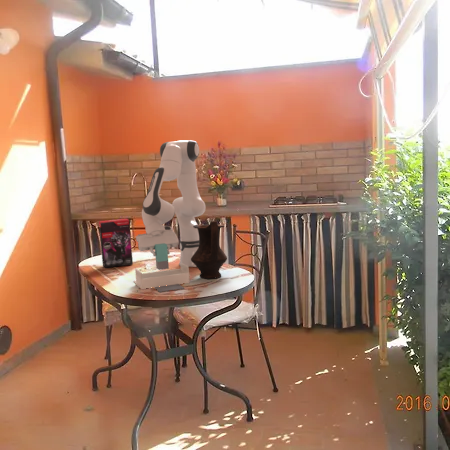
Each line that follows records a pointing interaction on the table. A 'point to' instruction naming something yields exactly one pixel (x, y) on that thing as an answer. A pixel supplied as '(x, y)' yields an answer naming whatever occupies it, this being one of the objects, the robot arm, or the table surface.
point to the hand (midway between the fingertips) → (161, 254)
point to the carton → (162, 277)
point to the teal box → (161, 256)
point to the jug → (209, 251)
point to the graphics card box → (115, 243)
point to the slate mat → (169, 287)
